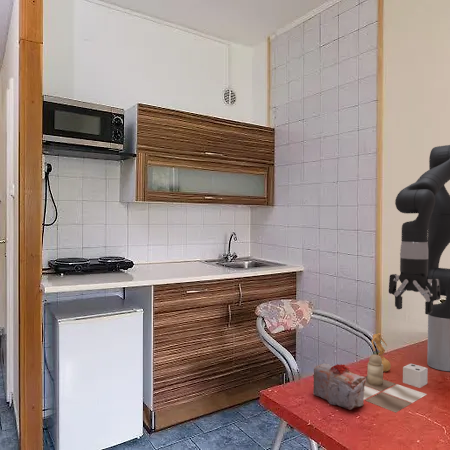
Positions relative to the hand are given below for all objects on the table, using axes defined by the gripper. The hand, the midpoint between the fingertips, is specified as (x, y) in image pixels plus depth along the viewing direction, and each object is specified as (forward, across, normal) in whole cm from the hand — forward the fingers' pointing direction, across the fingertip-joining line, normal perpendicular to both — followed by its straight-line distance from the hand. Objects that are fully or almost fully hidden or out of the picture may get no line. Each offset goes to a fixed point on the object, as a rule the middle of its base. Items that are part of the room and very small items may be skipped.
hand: (413, 311), depth 117 cm
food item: (+22, +7, +27) cm, 35 cm away
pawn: (+22, +8, +8) cm, 24 cm away
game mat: (+22, +3, +12) cm, 25 cm away
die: (+22, 0, -2) cm, 22 cm away
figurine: (+22, +12, -4) cm, 26 cm away
